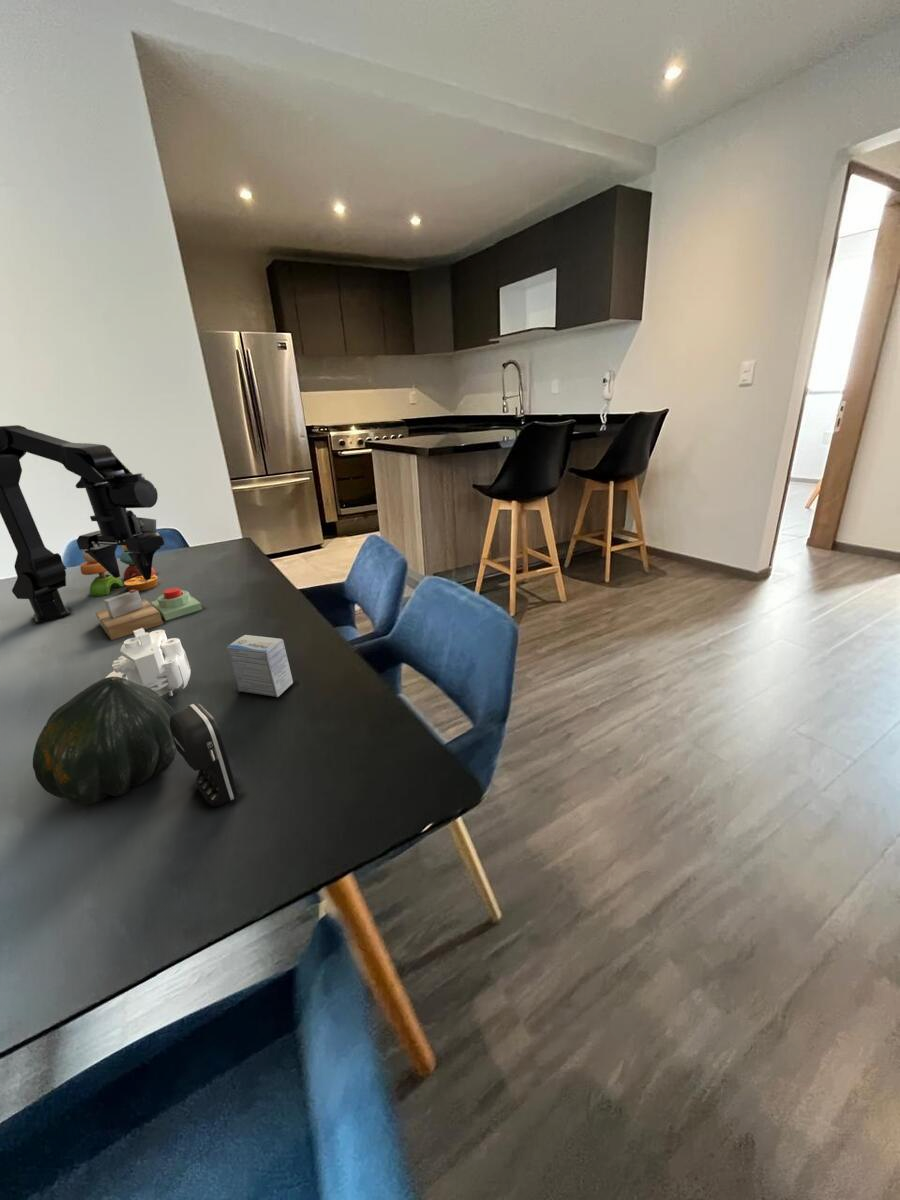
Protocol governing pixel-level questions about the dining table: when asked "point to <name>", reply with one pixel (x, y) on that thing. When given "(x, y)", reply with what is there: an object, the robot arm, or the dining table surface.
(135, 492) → the robot arm
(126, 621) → the block
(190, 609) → the box
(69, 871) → the dining table surface
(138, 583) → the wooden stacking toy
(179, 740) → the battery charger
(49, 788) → the squash
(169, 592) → the button
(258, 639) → the medicine box
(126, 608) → the grey block
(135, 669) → the mechanical part
